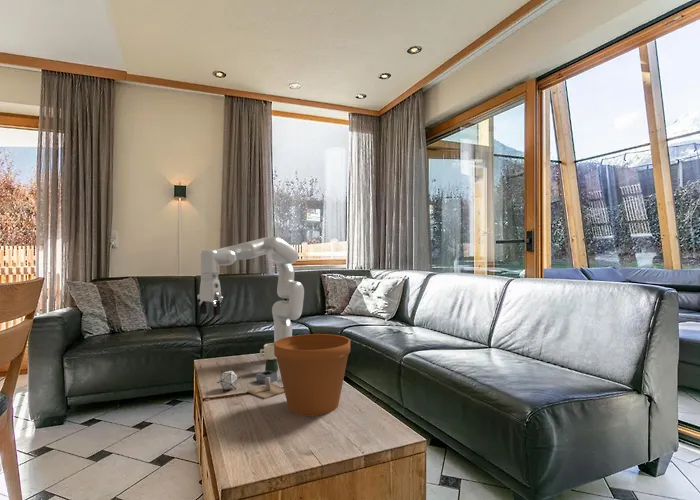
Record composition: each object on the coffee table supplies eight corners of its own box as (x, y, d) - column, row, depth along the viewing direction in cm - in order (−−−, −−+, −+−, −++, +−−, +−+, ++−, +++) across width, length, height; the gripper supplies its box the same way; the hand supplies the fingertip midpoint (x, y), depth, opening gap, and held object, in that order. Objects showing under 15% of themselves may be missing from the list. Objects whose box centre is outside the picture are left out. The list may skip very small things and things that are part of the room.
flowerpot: (268, 398, 152) (268, 337, 153) (336, 388, 162) (335, 331, 163) (283, 427, 126) (282, 353, 127) (363, 413, 136) (362, 345, 137)
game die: (223, 399, 163) (208, 380, 163) (237, 386, 170) (223, 368, 170) (234, 392, 158) (219, 373, 158) (248, 379, 165) (233, 360, 165)
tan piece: (271, 385, 169) (271, 371, 169) (288, 391, 160) (288, 377, 161) (247, 392, 160) (246, 378, 160) (264, 399, 152) (264, 384, 152)
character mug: (281, 368, 193) (281, 342, 194) (284, 372, 187) (283, 345, 187) (259, 371, 190) (259, 344, 190) (260, 375, 183) (260, 347, 183)
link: (268, 378, 179) (268, 370, 179) (277, 380, 174) (276, 372, 174) (256, 381, 174) (256, 373, 174) (265, 384, 170) (264, 376, 170)
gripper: (228, 276, 176) (229, 314, 176) (205, 276, 186) (205, 312, 186) (214, 277, 170) (214, 316, 170) (190, 276, 180) (191, 314, 180)
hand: (209, 314), depth 178 cm, fingers open, 9 cm apart
